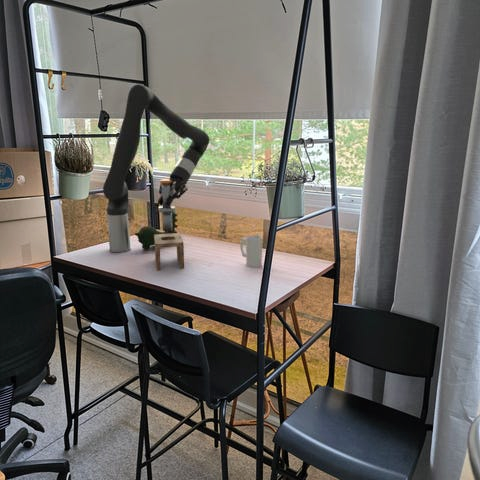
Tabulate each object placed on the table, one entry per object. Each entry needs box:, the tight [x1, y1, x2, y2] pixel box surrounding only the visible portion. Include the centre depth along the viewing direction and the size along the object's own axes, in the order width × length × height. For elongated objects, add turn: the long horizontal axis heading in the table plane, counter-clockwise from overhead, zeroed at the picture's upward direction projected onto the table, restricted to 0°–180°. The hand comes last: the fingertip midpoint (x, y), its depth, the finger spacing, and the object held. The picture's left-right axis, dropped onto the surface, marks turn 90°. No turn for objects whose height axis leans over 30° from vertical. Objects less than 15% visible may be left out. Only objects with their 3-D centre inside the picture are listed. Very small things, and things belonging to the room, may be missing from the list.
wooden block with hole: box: [154, 232, 185, 271], centre depth 178 cm, size 11×16×11 cm
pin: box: [157, 179, 176, 232], centre depth 173 cm, size 7×7×20 cm
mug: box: [239, 234, 263, 268], centre depth 177 cm, size 10×7×12 cm, turn 56°
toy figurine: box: [134, 212, 179, 251], centre depth 203 cm, size 9×19×25 cm
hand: (163, 204), depth 172 cm, fingers closed on pin, 3 cm apart
